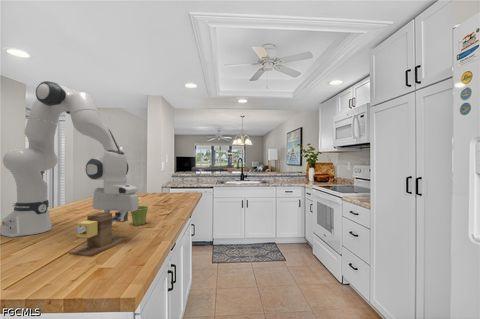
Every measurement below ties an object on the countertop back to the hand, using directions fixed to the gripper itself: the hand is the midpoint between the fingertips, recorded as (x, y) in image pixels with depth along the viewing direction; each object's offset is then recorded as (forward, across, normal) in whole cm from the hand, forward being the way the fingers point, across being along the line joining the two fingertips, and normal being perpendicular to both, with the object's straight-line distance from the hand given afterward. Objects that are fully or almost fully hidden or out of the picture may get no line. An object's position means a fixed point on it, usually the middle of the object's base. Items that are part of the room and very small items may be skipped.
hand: (115, 220), depth 107 cm
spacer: (+2, 0, -14) cm, 15 cm away
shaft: (+1, 0, -6) cm, 7 cm away
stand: (+8, 0, -8) cm, 12 cm away
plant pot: (+8, -6, +26) cm, 28 cm away
